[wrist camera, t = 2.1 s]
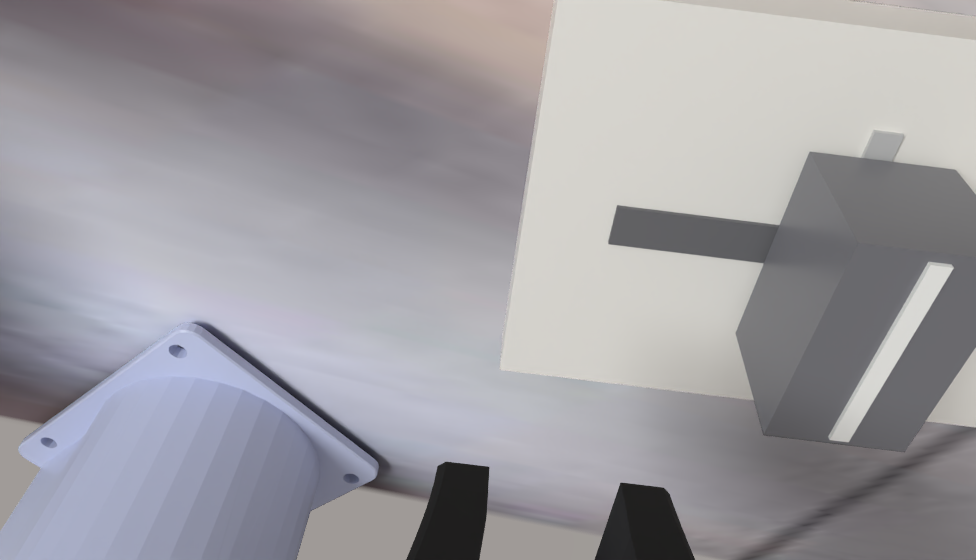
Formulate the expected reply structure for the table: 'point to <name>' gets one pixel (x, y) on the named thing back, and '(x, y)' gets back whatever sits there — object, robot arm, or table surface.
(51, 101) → the table surface
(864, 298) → the fader knob
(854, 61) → the fader console
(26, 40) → the table surface
